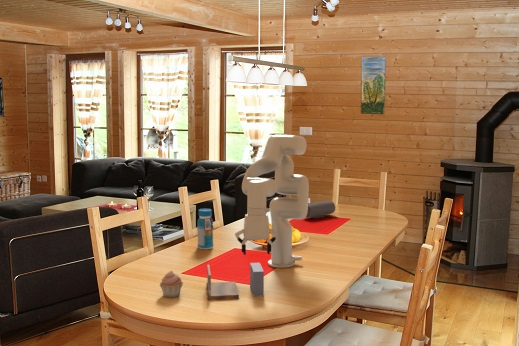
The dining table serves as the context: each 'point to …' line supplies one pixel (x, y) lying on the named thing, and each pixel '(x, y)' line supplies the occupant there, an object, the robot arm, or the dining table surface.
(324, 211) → the bluetooth speaker
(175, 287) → the cupcake
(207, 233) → the beverage bottle
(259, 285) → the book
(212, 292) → the bent wood veneer panel
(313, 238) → the dining table surface
